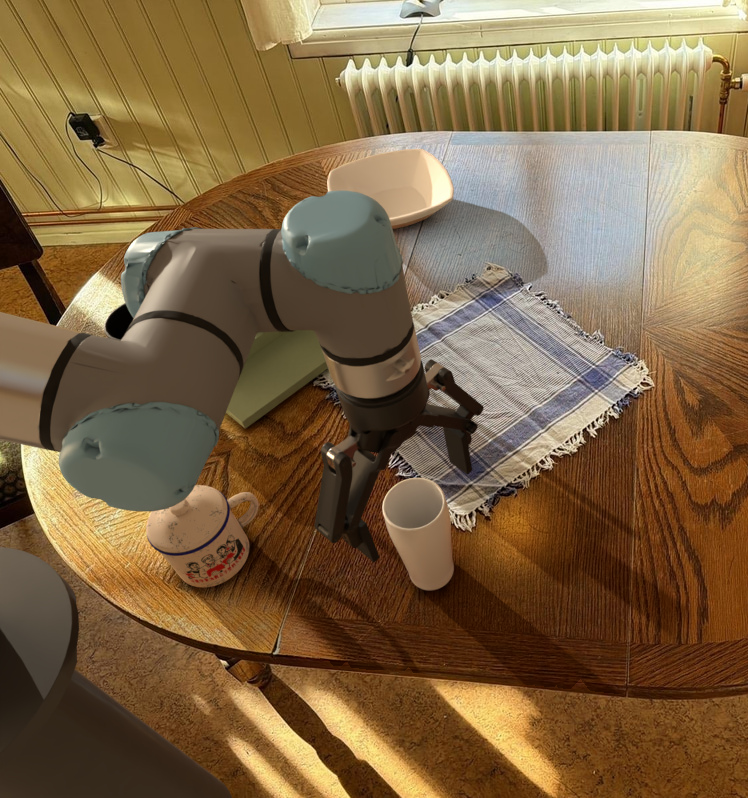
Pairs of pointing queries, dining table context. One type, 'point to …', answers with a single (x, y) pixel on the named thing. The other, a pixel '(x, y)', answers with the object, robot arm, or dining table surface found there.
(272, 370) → the window frame
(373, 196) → the bowl
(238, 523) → the teacup with lid
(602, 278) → the dining table surface
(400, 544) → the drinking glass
